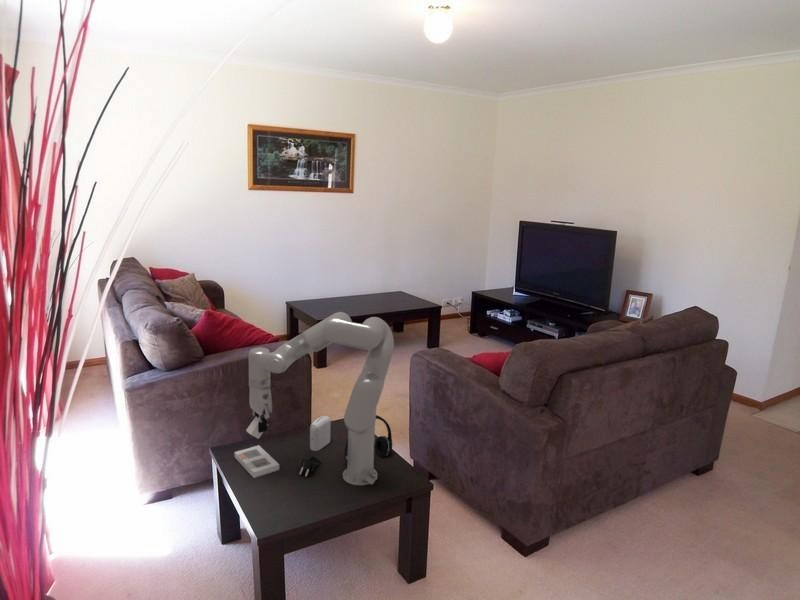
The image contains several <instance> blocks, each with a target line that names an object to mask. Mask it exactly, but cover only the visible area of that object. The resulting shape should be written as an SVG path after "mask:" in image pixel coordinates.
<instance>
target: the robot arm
mask: <svg viewBox="0 0 800 600" xmlns="http://www.w3.org/2000/svg"><path fill="white" fill-rule="evenodd" d="M331 344H336V345H340V346H345V347H349V348H354V349H359V350H364V351H367V350H368V352H367V355H366V358H365V360H364V361H365V362H364V364H363V366H362V370H361V372H360V373H359V375H358V376H357V379H356V381H355V382H354V385H353V387H352V390H351V393H350V397H349V400H348V403H347V405H346V409H345V412H344V415H343V422H344V425H345V427H346V428H347V433H348V434H347V438H348V461H347V463H346V464H347V465H346V466H347V468H346V469H344V471H343V472H342V478H343V480H344V481H345V482H346V483H348V484H350V485H353V486H368V485H374V483H375V482H376V480H378V471H377V470H376V469H375V467H374V463H375V462H374V459H375V433H376V420H377V419H376V415H377V407H378V404H379V400H380V397H381V396H382V392H383V389H384V385H385V381H386V377H387V374H388V371H389V368H390V364H391V361H392V358H393V354H394V350H395V349H394V347H395V339H394V334H393V331H392V329H391V328H390V326H389V325H388V323H387V322H386V320H383V319H382V318H381V317H378V316H371V317H369V318H366V319H365V320H364V321H363V322H362V323H357V322H353V320H352V319H351V317H350V315H348V314H347V313H345V312H343V311H338V312H335V313H333V314H331V315H329V316H327V317H326V318H324V319H322V320H321V321H320V322H318V323H316V324H314V325H313V326H311V327H310V328H308V329H306V330H304V331H303V332H301V333H300V334H298V335H296V336H295V337H293V338H292V339H290V340H287V342H285V343H283V344H282V345H279V347H278V348H276V349H275V350H274V351H272V352H270V350H269V349H268V348H267V347H261V346H260V347H259V346H258V347H253V348H252V349H249V352H248V388H249V395H248V398H249V399H248V401H249V406H250V409H251V411H252V421H253V420H254V418H255V417H258V418H259V422H258V432H259V433H260V432H263V433H264V432H267V431H268V426H267V424H268V420H269V419H270V414H272V413H273V400H272V399H273V398H272V391H271V373H273V374H282V373H284V372H285V371H286V370H287V369H288V368H289V367H290V366H291V365H292V364H293V363H294V362H296V361H297V360H298V359H301V358H302V357H304V356H305V355H307V354H309V353H312V352H314V353H318V352H319V351H322V350H323V349H325V348H326V347H328V346H330V345H331Z"/></svg>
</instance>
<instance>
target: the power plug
mask: <svg viewBox="0 0 800 600" xmlns="http://www.w3.org/2000/svg"><path fill="white" fill-rule="evenodd" d="M316 464H323V463H322V461H320V459H319V458H317V457H316V456H314V455H311V454H306V456H304V457H302V458H301V459H300V460H299V463H298V465H297V466H298V467H300V471H299V475H302V474H303V471H304V469H306V472H305V475H304V477H308V476H309V472H310V471H311V472H314V470H315V467H316Z"/></svg>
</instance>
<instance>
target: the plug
mask: <svg viewBox="0 0 800 600" xmlns="http://www.w3.org/2000/svg"><path fill="white" fill-rule="evenodd" d="M258 422H259V418H258V417H255V418H254V420H253V419H252V421H251V422H250V424H249V425H248V426H247V428H246V429H245V431H246V432H247V433H248V434H249V435H251V437H255V438H256V439H260V438H261V436H262V435H263V433H264V432H260V433H259V432H258ZM268 426H269V424H268V423H267V427H268Z"/></svg>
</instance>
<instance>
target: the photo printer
mask: <svg viewBox="0 0 800 600" xmlns="http://www.w3.org/2000/svg"><path fill="white" fill-rule="evenodd" d="M330 442H331V418H330V417H329V416H327V415H322V416H320V417H318V418H317V419H315V420H314V421H313V422H311V424H310V426H309V449H310V450H311V451H314V452H318V451H320V450H321V449H323V448H324V447H325V446H327V445H329V443H330Z"/></svg>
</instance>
